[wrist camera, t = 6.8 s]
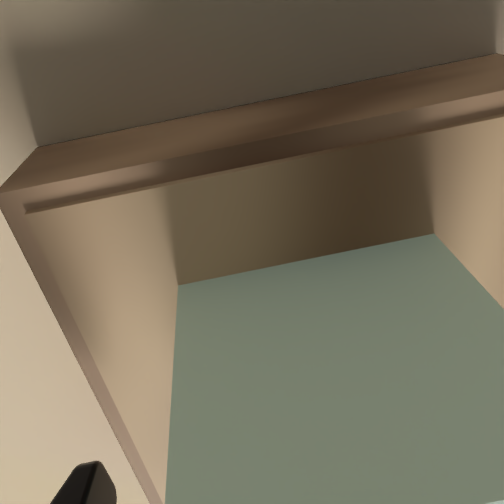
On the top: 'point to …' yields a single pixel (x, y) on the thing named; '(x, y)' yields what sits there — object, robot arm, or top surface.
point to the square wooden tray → (249, 214)
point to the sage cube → (339, 383)
